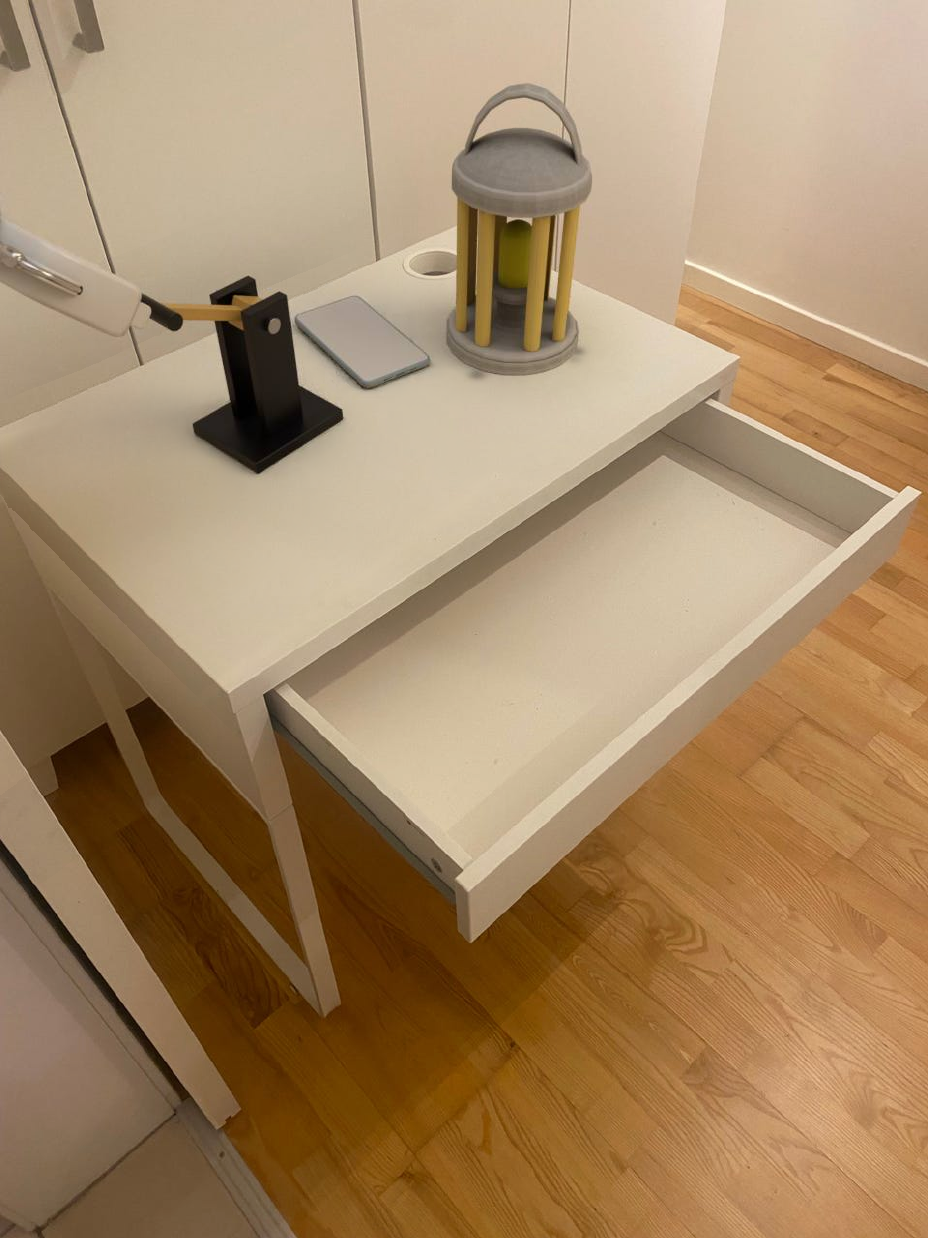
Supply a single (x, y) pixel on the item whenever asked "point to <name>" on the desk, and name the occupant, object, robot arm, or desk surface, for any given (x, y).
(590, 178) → the lantern
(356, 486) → the desk surface
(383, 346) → the smartphone
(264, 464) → the switch bracket
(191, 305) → the lever
